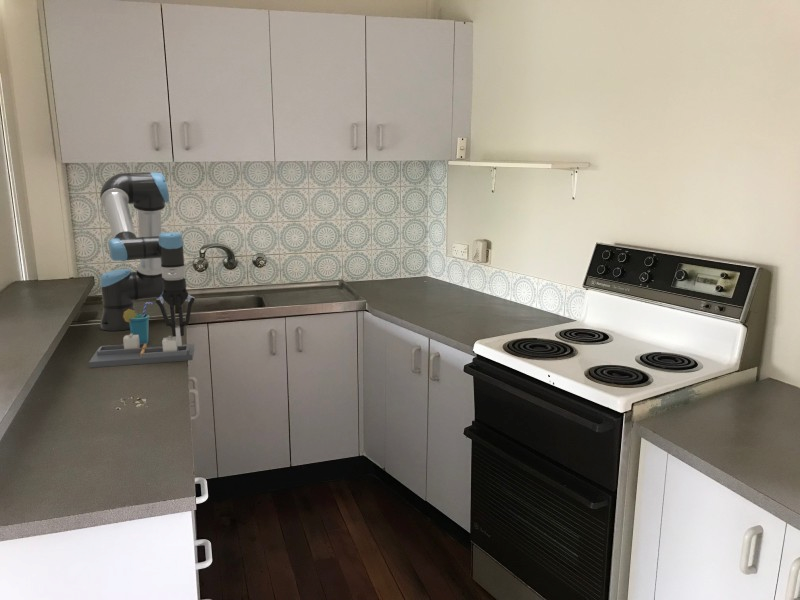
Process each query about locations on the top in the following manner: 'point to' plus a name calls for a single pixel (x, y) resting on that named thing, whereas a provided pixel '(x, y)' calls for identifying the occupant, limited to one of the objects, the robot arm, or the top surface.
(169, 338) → the tab
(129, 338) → the tab
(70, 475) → the top surface
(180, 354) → the switch bank
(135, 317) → the cup
